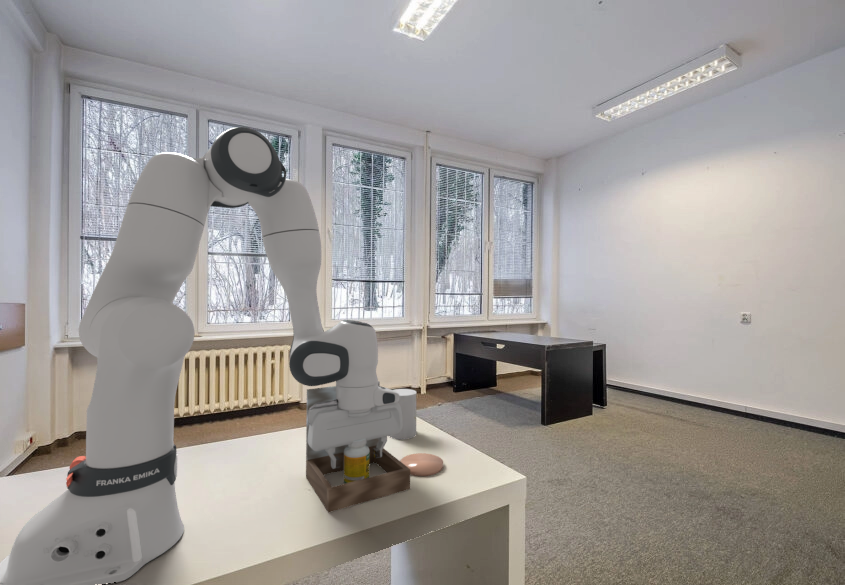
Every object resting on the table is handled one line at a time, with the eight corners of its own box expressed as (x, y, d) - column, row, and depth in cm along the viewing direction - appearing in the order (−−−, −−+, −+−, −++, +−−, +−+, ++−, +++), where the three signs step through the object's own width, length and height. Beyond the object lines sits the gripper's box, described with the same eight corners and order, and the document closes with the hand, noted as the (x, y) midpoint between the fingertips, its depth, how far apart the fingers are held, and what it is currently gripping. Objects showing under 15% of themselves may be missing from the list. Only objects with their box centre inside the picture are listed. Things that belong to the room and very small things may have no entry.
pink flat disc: (413, 480, 82) (413, 475, 82) (392, 462, 91) (392, 458, 91) (451, 469, 87) (451, 465, 87) (428, 454, 96) (428, 450, 96)
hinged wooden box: (328, 512, 70) (329, 407, 70) (305, 477, 83) (306, 389, 84) (410, 489, 78) (410, 395, 79) (377, 460, 92) (378, 381, 92)
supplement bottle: (343, 478, 83) (343, 433, 83) (368, 476, 84) (368, 432, 84) (343, 490, 78) (344, 443, 78) (370, 488, 79) (370, 441, 79)
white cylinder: (421, 435, 109) (422, 393, 109) (397, 441, 104) (397, 397, 105) (406, 427, 116) (406, 387, 116) (382, 432, 111) (383, 391, 111)
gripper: (312, 407, 73) (312, 480, 73) (405, 393, 84) (405, 456, 84) (303, 400, 79) (303, 467, 79) (392, 387, 89) (392, 447, 89)
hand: (357, 462), depth 81 cm, fingers open, 8 cm apart
